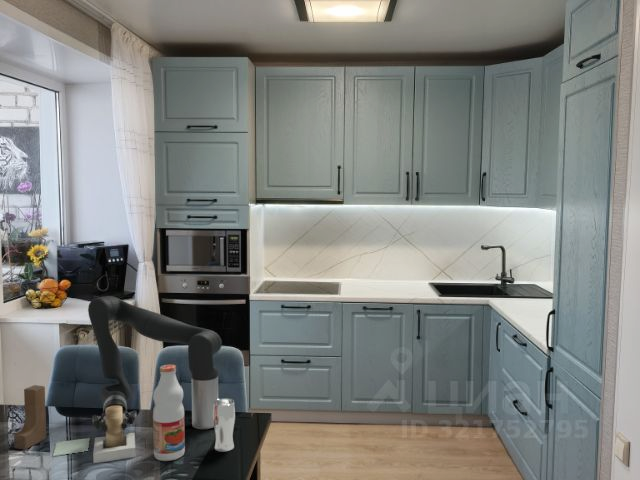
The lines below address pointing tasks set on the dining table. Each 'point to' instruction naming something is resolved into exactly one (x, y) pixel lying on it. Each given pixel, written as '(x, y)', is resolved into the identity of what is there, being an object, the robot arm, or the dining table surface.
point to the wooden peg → (114, 426)
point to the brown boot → (32, 418)
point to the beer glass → (224, 424)
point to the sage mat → (71, 447)
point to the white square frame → (114, 449)
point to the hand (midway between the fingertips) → (114, 428)
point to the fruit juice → (168, 416)
